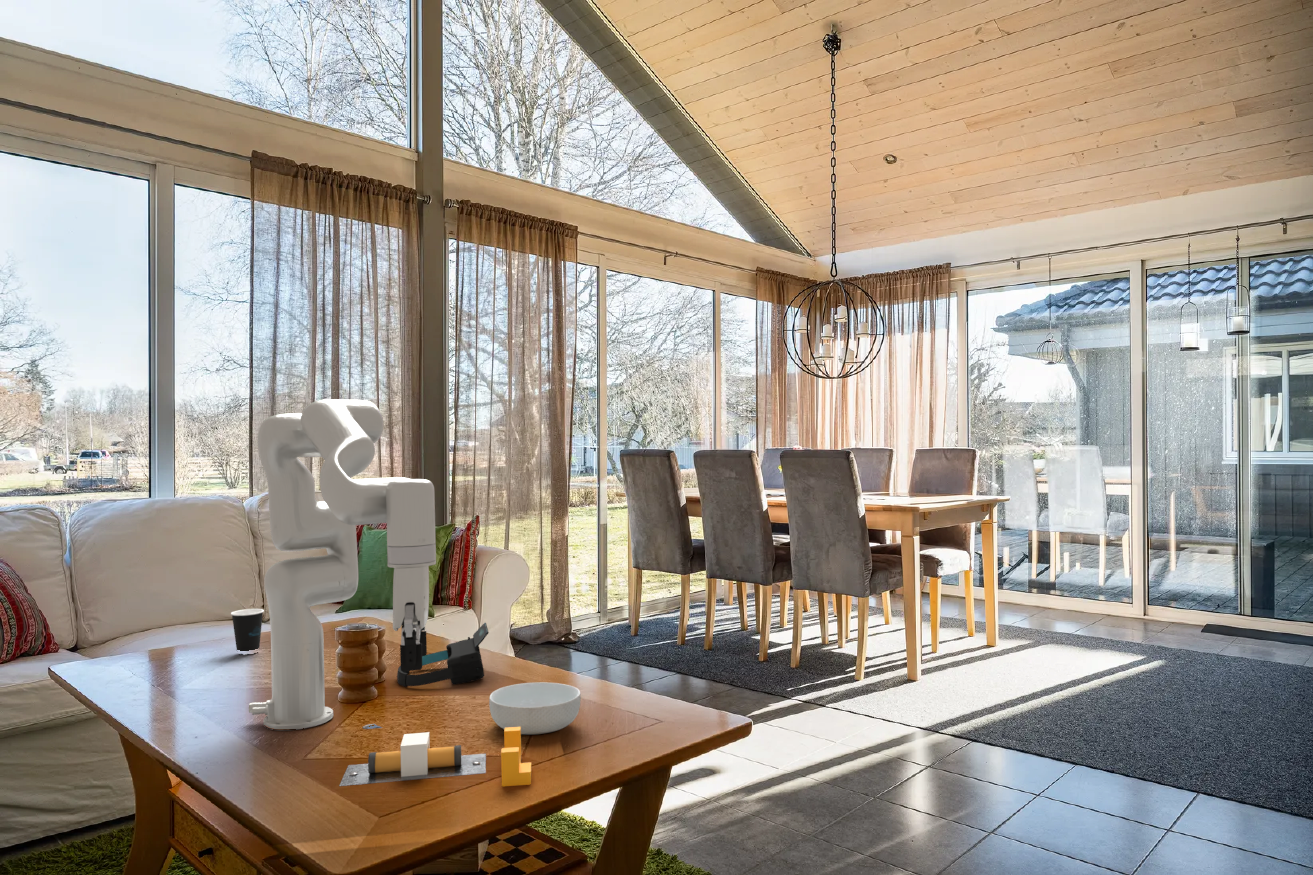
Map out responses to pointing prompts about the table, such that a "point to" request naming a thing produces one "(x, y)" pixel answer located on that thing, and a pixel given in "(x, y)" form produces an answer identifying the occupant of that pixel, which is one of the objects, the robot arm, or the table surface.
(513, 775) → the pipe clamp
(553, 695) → the cereal bowl
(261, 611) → the dixie cup
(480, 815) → the table surface
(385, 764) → the handle
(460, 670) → the virtual reality headset
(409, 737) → the white u-shaped block
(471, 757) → the mounting plate
